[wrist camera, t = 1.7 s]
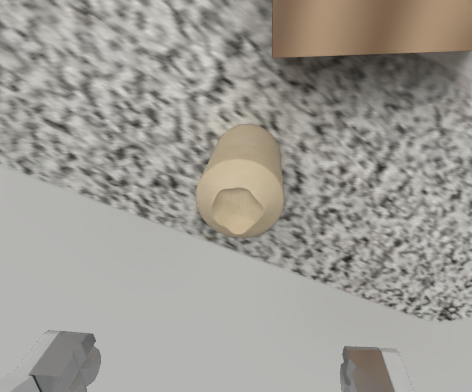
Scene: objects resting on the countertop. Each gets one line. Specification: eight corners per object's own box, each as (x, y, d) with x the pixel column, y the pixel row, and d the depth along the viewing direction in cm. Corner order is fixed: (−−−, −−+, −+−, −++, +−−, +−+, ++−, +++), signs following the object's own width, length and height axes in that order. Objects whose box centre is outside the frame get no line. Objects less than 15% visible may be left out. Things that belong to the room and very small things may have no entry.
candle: (282, 123, 27) (288, 169, 18) (278, 185, 29) (282, 253, 20) (214, 122, 27) (187, 166, 18) (216, 183, 30) (193, 249, 21)
